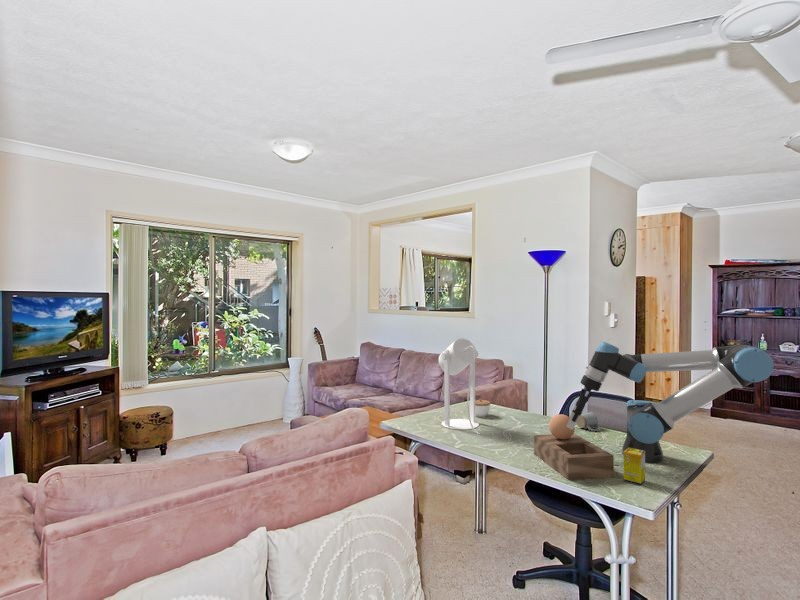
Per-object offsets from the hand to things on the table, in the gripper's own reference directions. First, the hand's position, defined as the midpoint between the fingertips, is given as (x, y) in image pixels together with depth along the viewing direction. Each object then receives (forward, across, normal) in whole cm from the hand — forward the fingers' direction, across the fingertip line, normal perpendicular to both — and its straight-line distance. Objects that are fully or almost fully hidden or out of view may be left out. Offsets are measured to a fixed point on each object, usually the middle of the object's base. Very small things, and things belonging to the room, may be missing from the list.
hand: (570, 424), depth 191 cm
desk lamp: (+34, -30, -43) cm, 62 cm away
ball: (+2, +1, -3) cm, 4 cm away
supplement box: (+4, +15, +27) cm, 31 cm away
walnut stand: (+13, +6, +6) cm, 16 cm away
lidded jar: (+31, -54, -41) cm, 75 cm away
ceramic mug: (+8, -49, +11) cm, 51 cm away
